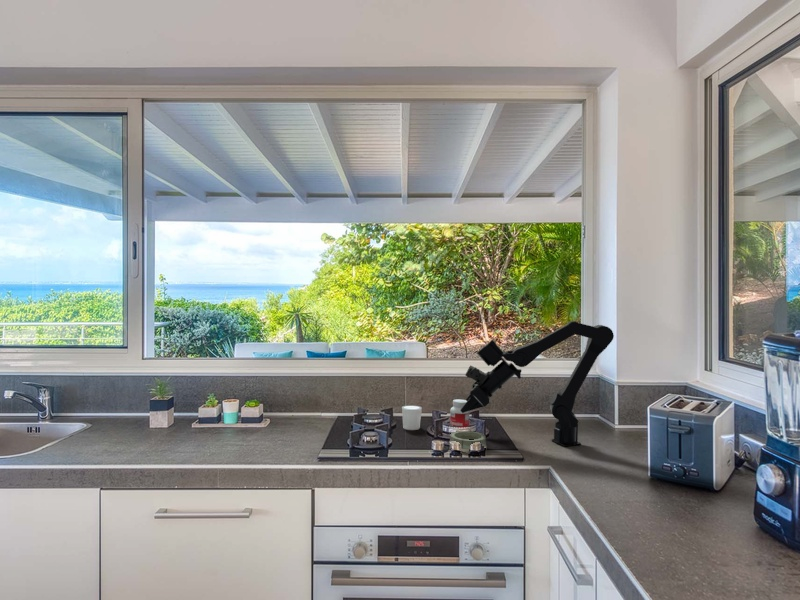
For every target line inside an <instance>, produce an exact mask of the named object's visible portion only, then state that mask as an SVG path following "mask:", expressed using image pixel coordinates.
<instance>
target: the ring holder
mask: <svg viewBox="0 0 800 600" xmlns="http://www.w3.org/2000/svg"><path fill="white" fill-rule="evenodd" d="M486 437H487V436H486V435H485V434H483V433H481V432H476V431H473V430H469V431H456V432H453V433H451V434H450V433H449V442H450V441H456V442H459V443H460V444H461V450H462V451H465V452H468V451H469V449H470V445H471V444H473V443H475V442H480V443H481V444H482V446H484V448H486V449H487V444H486ZM469 439H474V440H469Z"/></svg>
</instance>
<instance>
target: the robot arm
mask: <svg viewBox="0 0 800 600" xmlns="http://www.w3.org/2000/svg"><path fill="white" fill-rule="evenodd" d="M574 335H577V336H581V337H585V338H587V341H586V344H585V345H586V346H585V350H583V351H584V352H583V353H582V355H581V356H580V358H579V360H578V363H577V364H576V366H575V368H574V369H573V371H572V373H571V375H570V377H569V378H568V380H567V382H566V384H565V386H564V387H563V388H562V389H561V390H560V391H558V390H557V389H556V390H554V393H553V396H552V397H551V398H550V399H549V402H550V405H549V408H550V411H551V415H552V416H553V417H554V418H555V419H556V420H557V422H555V424H554V425H555V426H554V429H553V433H554V434H553V438H552V439H551V442H554V443H555V444H558V445H559V446H560V445H561V446H563V447H571V446H573V447H575V446H580V445H582V443H581V442H580V441H578V438H579V436H578V435H579V419H578V418H577V416H576V414H575V413H574V412H573V409H574V406H575V402H576V398H577V395H578V394H579V393H578V392H579V391H580V389H581V387H582V386H583V383H584V382H585V380H586V378H587V377H588V375H589V372H590V371H591V370H592V367H593V366H594V364H595V362H596V360H597V358H598V357H599V355H601V354H603V352H604V351H605V350H606V349H607V347H608V346H609V345H610V344H611V343H612V342H613V340H614V338H615V337H614V336H615V335H614V331H613V330H612V328H610V327H609V326H606V325H603V324H598V325H595V326H593V325H589V324H584V323H580V322H578V321H575V320H570V321H568V322H567V323H565V325H563V326H561V327H560V328H557V329H555V330H554V331H552V332H550V333H549V334H547V335H545V336H543V337H541V338H540V339H538V340H536V341H534V342H530V343H527V344H524V345H521V346H518V347H516V348H514V349H512V350H506V351H503V350H502V349H501V348H500V347H499V346H498V345H497V343H496V342H495V340H494V339H492V340H490V341H489V342H487V344H485V345H483V347H481V348H480V349H479V350H477V352H476V354H477V356H479V358H480V359H481V360H482V361H483V362H484V363H485V364H486V365H487V367H490V366H491V367H494V368H493V369H492V370H491V371H487V372H486V373H485V372H484V371H482V370H481V369H480V368H477V367H476V366H473V365H470V366H468V368H467V371H466V373H465V377H466V378H469V379H472V380H474V381H473V384H472V389H471V390H470V391H469V395H468V396H467V398H466V399H465V400H466V401H467V402H466V403H465V405H464V406H463V407H462V409H461V410H460V411H461V412H462V413H464V412H467V411H469V412H470V411H473V410H476V409H477V410H478V409H480V408H486V406H487V405H489V404H490V399H491V397H493V394H495V393H496V392H497V391H498V390H500V389H502V387H503V386H504V385H505V384H506V383H507V382H508V381H509V380H511V378H513V377H514V376H516V377H517V378H518V379H521V378H522V369H521V368H525V367H527V366H528V365H529V364H530V363H532V362H533V361H534V360H535V359H536V358H537V357H539V356H540V355H541V354H542V353H544V352H545V351H547V350H549V349H551V348H553V347H554V346H556V345H558V344H560V343H561V342H563V341H565V340H567V339H569V338H570V337H573V336H574ZM507 361H508V362H510V363H508V362H507ZM498 363H499V364H498ZM517 367H518V368H517ZM519 367H520V369H519Z"/></svg>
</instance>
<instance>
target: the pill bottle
mask: <svg viewBox="0 0 800 600" xmlns="http://www.w3.org/2000/svg"><path fill="white" fill-rule="evenodd" d="M466 402H467V401H466V399H459V398H458V399H457V398H456V399H453V400H452V405H453V406H452V407H451V408H450V412H449V413H450V414H449V416H450V417H449V425H450V424H451V425H453V426H457V427H467V426H469V427H470V411H467V412H464V413H462V412H461V411H460V410H461V409H462V407H463V406H464V405H465V403H466Z"/></svg>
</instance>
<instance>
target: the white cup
mask: <svg viewBox="0 0 800 600" xmlns="http://www.w3.org/2000/svg"><path fill="white" fill-rule="evenodd" d="M422 409H423V408H422V406H419V405H412V404H411V405H403V406H401V412H402V413H401V414H402V427H403V430H407V431H416V430H419V429H420V427H421V420H422V419H421V418H422Z"/></svg>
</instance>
